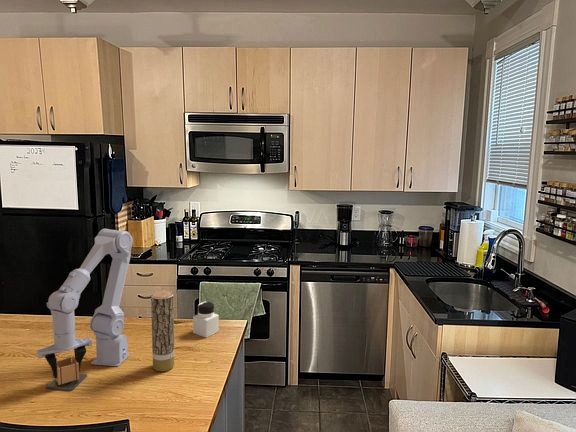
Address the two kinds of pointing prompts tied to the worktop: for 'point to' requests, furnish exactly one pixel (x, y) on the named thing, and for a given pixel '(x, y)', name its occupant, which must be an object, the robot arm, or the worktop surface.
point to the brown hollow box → (67, 370)
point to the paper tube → (162, 330)
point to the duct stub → (66, 384)
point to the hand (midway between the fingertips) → (66, 373)
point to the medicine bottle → (205, 320)
